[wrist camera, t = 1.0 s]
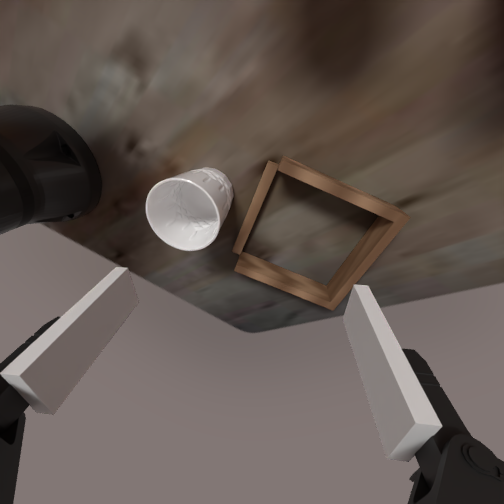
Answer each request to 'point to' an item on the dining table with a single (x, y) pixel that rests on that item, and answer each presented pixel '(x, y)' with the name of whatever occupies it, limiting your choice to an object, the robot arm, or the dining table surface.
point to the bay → (355, 263)
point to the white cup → (190, 208)
